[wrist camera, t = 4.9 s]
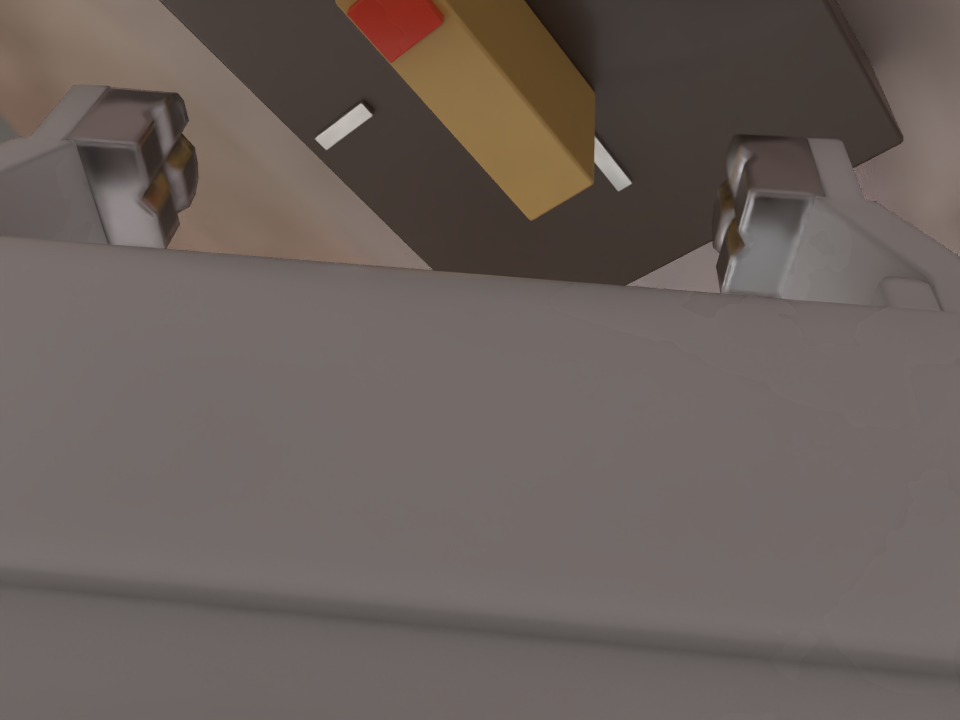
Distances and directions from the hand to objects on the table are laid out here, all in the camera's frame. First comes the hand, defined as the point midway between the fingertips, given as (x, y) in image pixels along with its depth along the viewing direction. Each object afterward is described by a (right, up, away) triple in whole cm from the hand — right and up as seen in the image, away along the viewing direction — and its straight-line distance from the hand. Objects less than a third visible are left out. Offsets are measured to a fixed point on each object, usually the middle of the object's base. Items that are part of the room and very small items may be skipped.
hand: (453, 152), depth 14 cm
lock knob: (+1, +3, +3) cm, 5 cm away
